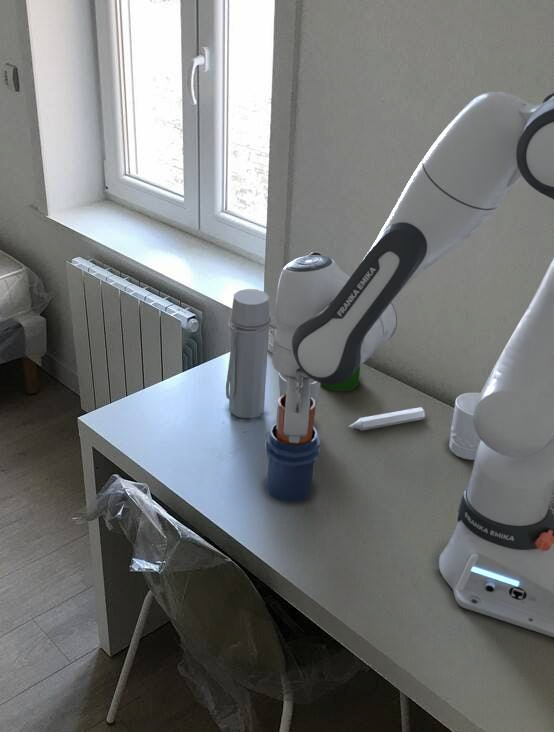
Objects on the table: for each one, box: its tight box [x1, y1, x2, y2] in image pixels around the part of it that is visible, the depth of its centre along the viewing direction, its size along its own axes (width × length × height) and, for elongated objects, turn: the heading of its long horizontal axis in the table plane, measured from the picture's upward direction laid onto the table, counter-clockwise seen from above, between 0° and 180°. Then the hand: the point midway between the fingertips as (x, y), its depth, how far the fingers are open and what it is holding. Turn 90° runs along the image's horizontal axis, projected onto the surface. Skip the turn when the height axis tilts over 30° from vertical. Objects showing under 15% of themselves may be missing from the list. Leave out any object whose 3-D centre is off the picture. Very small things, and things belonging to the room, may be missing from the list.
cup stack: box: [265, 421, 319, 503], centre depth 146 cm, size 8×8×12 cm
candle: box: [320, 366, 361, 392], centre depth 175 cm, size 8×8×10 cm
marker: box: [346, 406, 426, 431], centre depth 164 cm, size 3×2×16 cm
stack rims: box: [265, 430, 321, 466], centre depth 144 cm, size 9×9×2 cm
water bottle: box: [225, 288, 272, 419], centre depth 162 cm, size 9×8×25 cm
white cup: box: [448, 392, 481, 461], centre depth 154 cm, size 8×8×10 cm
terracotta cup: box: [275, 394, 317, 445], centre depth 142 cm, size 6×6×10 cm
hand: (294, 427), depth 142 cm, fingers closed on terracotta cup, 6 cm apart
